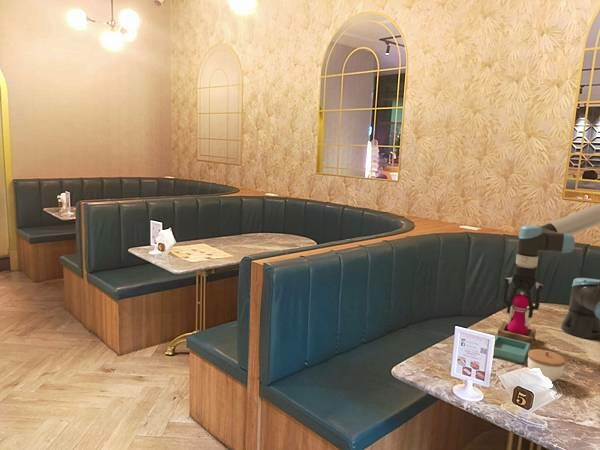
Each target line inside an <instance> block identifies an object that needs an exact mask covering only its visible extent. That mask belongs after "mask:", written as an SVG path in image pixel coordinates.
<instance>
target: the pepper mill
mask: <svg viewBox="0 0 600 450" xmlns="http://www.w3.org/2000/svg"><path fill="white" fill-rule="evenodd" d="M512 304H513V305H514V306H513V307H514V308H513V316H512V319H511V322H509V321H508V323H509V324H508V327H507V329H508V331H509V332H512V333H516V334H520V335H525V334H527V332H528V328H529V327H528V325H527V326H525V321H526V313H527V309H528V307H529V302H528V298H527V294H526V291H525V290H520V291H519V294H516V296H515V297H514V299H513V303H512ZM527 327H528V328H527Z"/></svg>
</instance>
